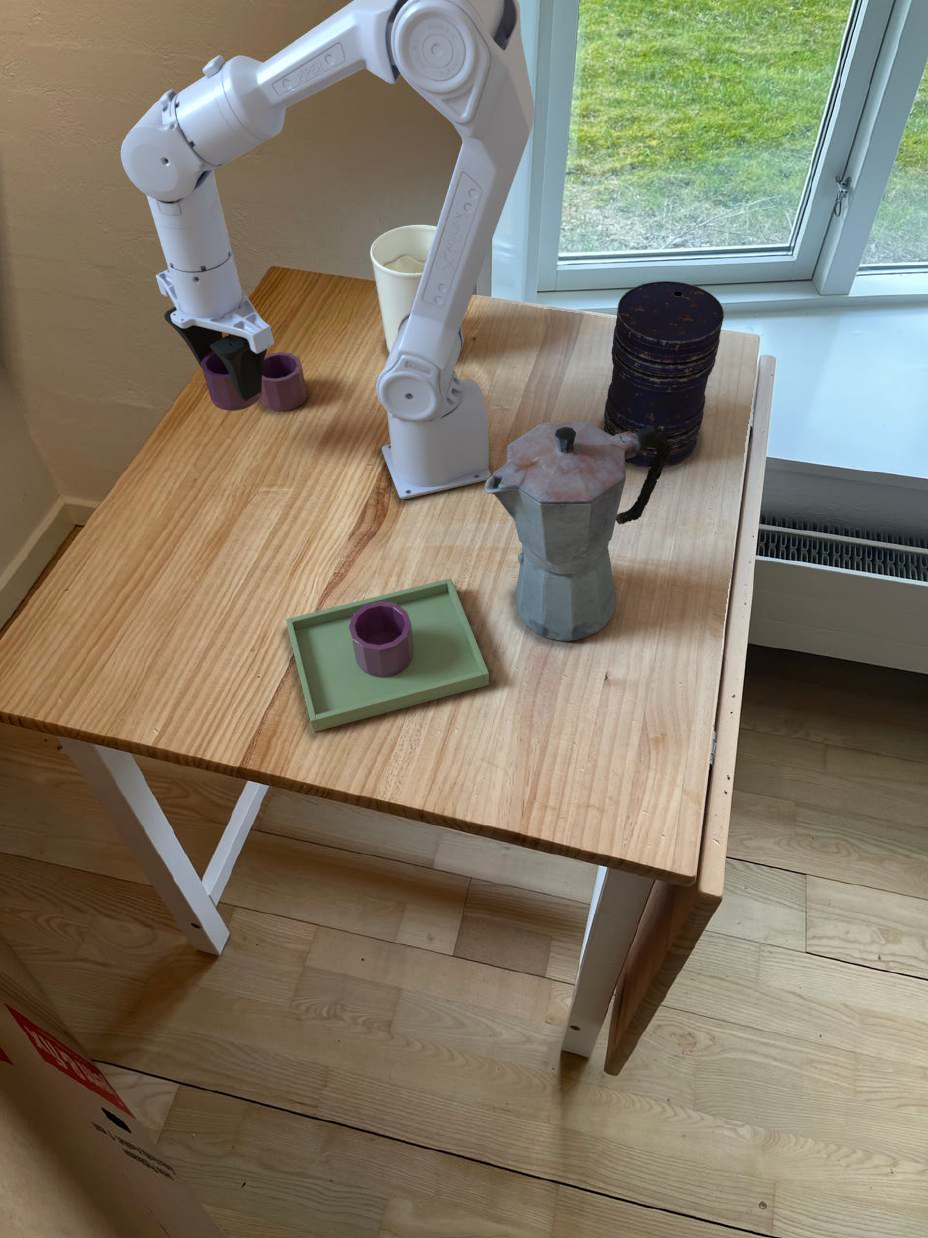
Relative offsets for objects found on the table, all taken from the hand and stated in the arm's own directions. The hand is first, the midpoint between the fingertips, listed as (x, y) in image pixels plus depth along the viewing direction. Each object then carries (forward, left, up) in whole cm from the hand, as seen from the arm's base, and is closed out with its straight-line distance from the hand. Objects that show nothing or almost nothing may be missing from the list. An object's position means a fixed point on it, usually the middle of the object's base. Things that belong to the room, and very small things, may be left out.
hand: (233, 382), depth 93 cm
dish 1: (0, 0, -1) cm, 1 cm away
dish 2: (-7, +31, -8) cm, 33 cm away
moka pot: (-24, +30, -8) cm, 39 cm away
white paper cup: (-22, -11, -8) cm, 26 cm away
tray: (-7, +31, -8) cm, 33 cm away
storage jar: (-40, +12, -8) cm, 43 cm away
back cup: (-5, -7, -8) cm, 12 cm away
